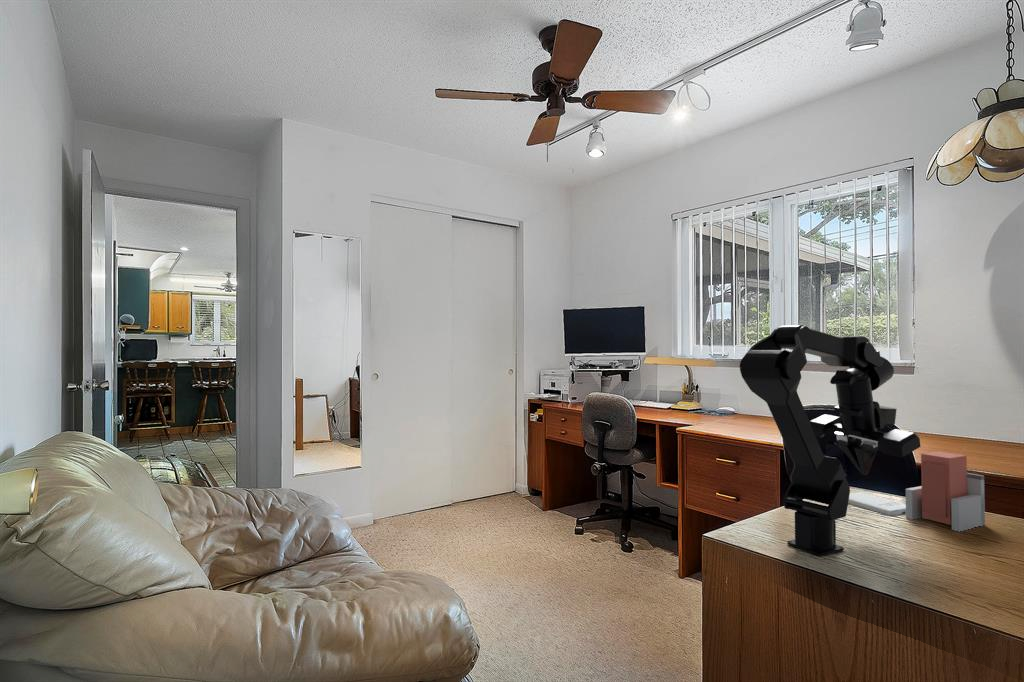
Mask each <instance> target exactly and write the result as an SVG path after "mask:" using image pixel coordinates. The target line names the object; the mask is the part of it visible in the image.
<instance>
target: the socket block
mask: <svg viewBox="0 0 1024 682" xmlns="http://www.w3.org/2000/svg"><path fill="white" fill-rule="evenodd" d="M985 497H986V496H985V475H983V474H977V473H971V472H967V496H963V497H958V498H953V499H951V510H952V525H951V530H952V531H953V530H954V532H957V531H958V533H961V532H965V531H969V530H972V529H971V528H973V529H975V528H974V527H977V528H979V527H978V526H981V525H984V526H985V525H986V515H985V514H986V507H985V505H986V504H985V503H986V501H985ZM905 504H906V513H905V518H906V519H908V520H917V519H921V518H922V485H919V486H914V487H909V488H908V487H907V488H905ZM922 519H923V518H922ZM981 527H982V526H981ZM968 529H969V530H968ZM964 530H965V531H964ZM960 531H961V532H960Z"/></svg>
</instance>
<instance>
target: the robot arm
mask: <svg viewBox="0 0 1024 682" xmlns="http://www.w3.org/2000/svg"><path fill="white" fill-rule="evenodd" d="M786 349H787V350H786ZM789 350H791V351H789ZM806 354H807V355H812V356H816V357H819V358H820V361H821V362H822V363H824V364H826V365H827V366H829V367H847V368H844V369H843V370H842V369H841V370H840V369H839V370H836V371H835V374H834V375H833V376H832V377H831V379H830V380H829V381H830V382H829V383H830V384H831V385H835V389H836V390H835V391H836V396H837V404H838V405H835V406H834V407H833V410H834V413H837V414H839V416H836V415H832V414H825V413H824V414H822V415H820V416H818V417H816V418H813V419H811V420H810V419H809V417H808V415H807V412H806V409H805V408H804V406H803V404H802V401H801V398H800V397H799V394H798V388H799V385H800V382H801V379H802V374H801V373H802V372H801V371H803V369H804V367H805V366H806V365H807V363H808V359H807V356H806ZM739 371H740V375H741V377H742V379H743V381H744V382H745V384H746V385H747V387H748V388H749V390H750V392H752V393H753V394H755V395H756V396H757V397H759V398H760V399H761V400H763V401H764V402H765V403H766V405H767V407H768V409H769V411H770V414H771V415H772V418H773V419H774V422H775V425H776V427H777V429H778V432H779V433H780V435H781V437H782V441H783V442H784V444H785V447H786V449H787V451H788V453H789V455H790V458H791V460H792V462H793V464H794V466H793V469H792V472H791V473H790V477H789V478H790V483H789V485H788V487H787V489H786V490H785V493H784V494H783V497H782V502H783V507H784V509H786V510H791V511H795V512H794V539H790V540H787V542H786V543H787V545H789V546H791V547H795V548H797V549H800V550H803V551H806V552H808V553H811V554H813V555H816V556H819V557H820V556H821V557H822V556H826V555H830V554H834V553H838V552H842V551H844V550H845V549H844V546H842V545H838V544H836V543H837V537H836V536H837V533H836V532H837V530H836V529H837V527H836V525H837V523H836V522H837V521H836V520H838V519H839V520H840V519H842V518H846V516H847V513H848V512H847V511H848V505H849V503H848V501H849V495H850V493H851V486H850V484H849V482H848V480H847V478H846V477H847V476H848V475H847V473H846V472H845V470H844V468H843V465H842V461H841V460H840V459H839V458H837V457H832V456H826V455H824V453H823V451H822V448H821V445H820V444H819V441H818V438H823V437H824V436H825V435H826V432H832V433H834V435H836V440H835V441H834V444H835V445H836V446H837V447H839V448H840V450H841V451H843V452H844V454H845V456H847V457H848V458H849V459H850V461H851V463H852V464H853V465H854V466H855V467H856V469H857V470H858V472H859V473H860V474H861V475H862V476H867V475H869V473H870V470H871V468H872V464H873V461H874V458H875V455H876V454H877V451H879V452H881V453H882V454H883V455H888V456H892V457H895V458H904V457H905V456H907V455H909V454H910V453H912V452H914V451H916V450H917V449H919V448H921V439H920V437H919V435H918V434H917V433H916V432H912V431H908V430H903V429H898V428H894V429H891V430H890V431H889V432H885V431H882V429H884V428H885V426H886V424H888V425H889V424H890V425H892V426H893V425H894V426H895V425H896V416H897V410H898V409H897V408H895V407H890V406H889V407H888V406H884V405H880V403H879V401H875V400H874V398H873V392H874V391H875V390H877V389H878V388H881V386H882V385H884V384H886V383H887V382H888V381H890V379H892V378H893V376H894V374H895V368H894V366H893V365H892V362H890V361H889V360H888V359H887V358H885V357H883V356H881V353H880V351H879V350H877V349H876V348H875V347H874V344H872V343H871V342H870V340H869V338H868V337H866V336H864V335H863V336H862V335H861V336H836V335H833V334H831V333H830V334H829V333H826V332H822V331H819V330H816V329H812V328H810V327H808V326H806V325H803V324H796V325H793V324H792V325H779V327H778V326H777V327H776V328H774V329H773V331H772V332H771V333H770V334H769V335H768V336H766V337H764V338H763V339H761V340H758V341H757V342H756V343H754V344H753V345H752V346H751V347H749V350H747V352H746V353H745V354H744V356H743V357H742V358H741V360H740V363H739ZM879 429H881V430H879ZM807 500H808V501H807Z"/></svg>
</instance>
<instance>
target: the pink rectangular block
mask: <svg viewBox="0 0 1024 682" xmlns="http://www.w3.org/2000/svg"><path fill="white" fill-rule="evenodd" d="M967 458H968V457H967V455H965V454H959V453H958V454H957V453H953V452H951V453H950V452H946V451H939V450H938V451H931V452H924V453H920V463H921V465H920V466H921V472H920V473H921V486H922V519H925V520H926V519H927V520H930V521H934V522H938V523H943V524H945V525H950V526H952V510H951V499H953V498H958V497H963V496H967V473H968V471H967V469H968V467H967V463H968V462H967V460H968V459H967Z"/></svg>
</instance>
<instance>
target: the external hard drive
mask: <svg viewBox="0 0 1024 682" xmlns="http://www.w3.org/2000/svg"><path fill="white" fill-rule="evenodd" d="M848 505H851V506H852V505H853V506H856V507H859V508H863V509H865V510H870V511H873V512H876V513H879V514H883V515H886V516H897V515H903V514H906V503H903V502H900V501H895V500H892V499H889V498H885V497H882V496H881V497H880V496H878V495H874V494H870V493H868V492H867V493H866V492H863V491H860V492H852V493H851V492H850V495H849V501H848Z"/></svg>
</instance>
